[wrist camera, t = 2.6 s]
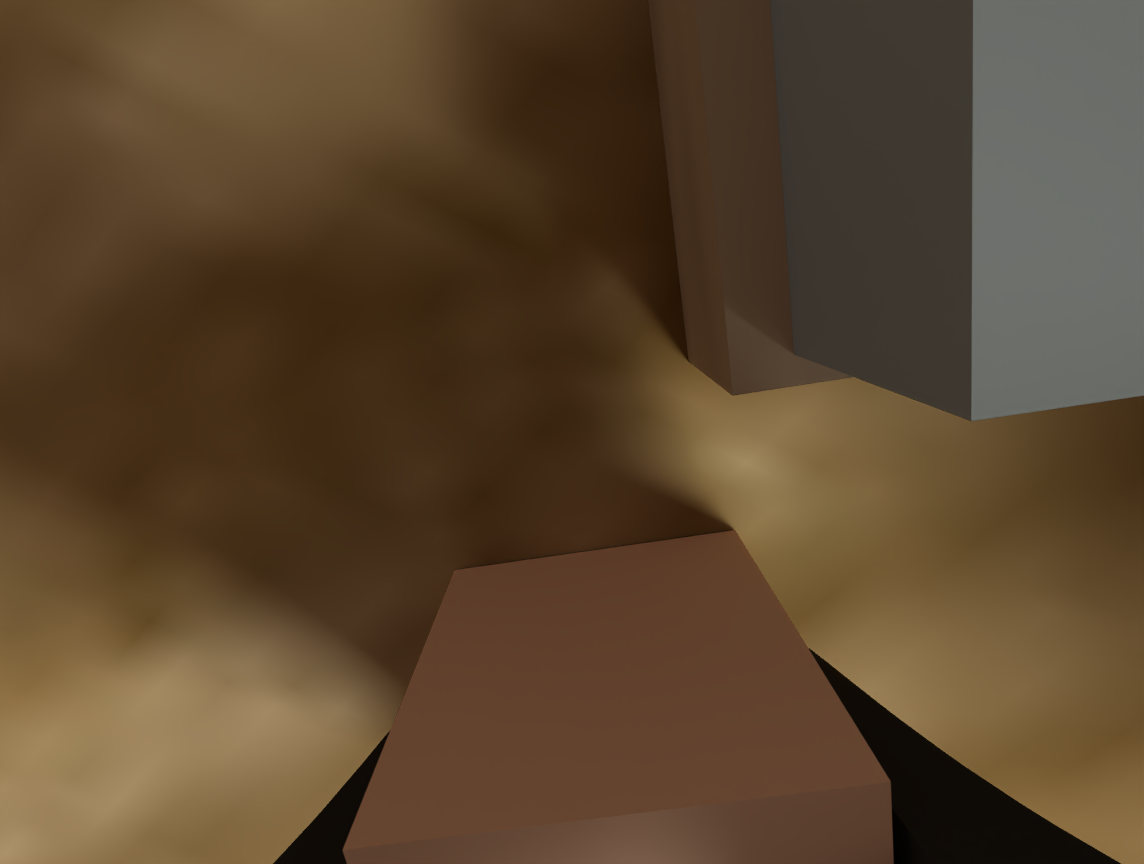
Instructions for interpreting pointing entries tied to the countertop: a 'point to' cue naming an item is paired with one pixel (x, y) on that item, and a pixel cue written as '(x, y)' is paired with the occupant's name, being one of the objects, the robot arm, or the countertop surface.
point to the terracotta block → (622, 723)
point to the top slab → (966, 196)
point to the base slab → (728, 191)
